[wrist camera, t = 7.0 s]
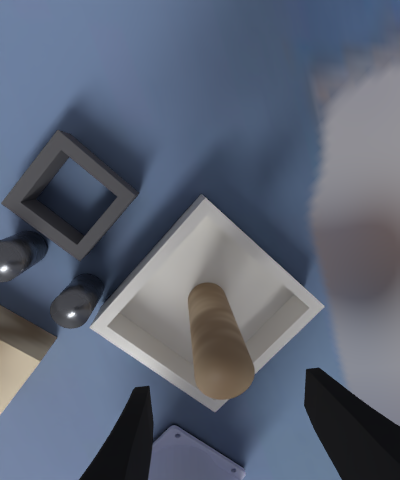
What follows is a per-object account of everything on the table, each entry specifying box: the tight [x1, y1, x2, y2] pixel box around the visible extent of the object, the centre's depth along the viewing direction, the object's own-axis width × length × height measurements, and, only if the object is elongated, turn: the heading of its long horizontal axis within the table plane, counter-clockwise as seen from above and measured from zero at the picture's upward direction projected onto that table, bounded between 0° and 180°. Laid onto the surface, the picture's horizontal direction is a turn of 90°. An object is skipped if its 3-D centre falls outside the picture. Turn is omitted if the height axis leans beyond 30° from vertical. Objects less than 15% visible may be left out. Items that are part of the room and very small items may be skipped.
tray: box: [90, 194, 325, 412], centre depth 20 cm, size 12×12×3 cm
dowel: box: [188, 282, 255, 400], centre depth 17 cm, size 3×3×8 cm
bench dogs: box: [0, 231, 103, 328], centre depth 19 cm, size 7×2×4 cm, turn 48°
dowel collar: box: [1, 130, 139, 261], centre depth 18 cm, size 6×6×2 cm
